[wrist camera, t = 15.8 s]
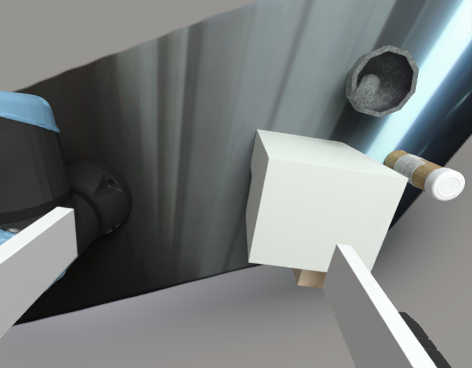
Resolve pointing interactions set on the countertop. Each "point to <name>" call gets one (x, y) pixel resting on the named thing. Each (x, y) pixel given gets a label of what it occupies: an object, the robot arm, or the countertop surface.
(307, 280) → the wooden rectangular block
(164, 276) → the countertop surface
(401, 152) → the sprinkles bottle
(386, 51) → the mortar and pestle
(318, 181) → the cabinet
